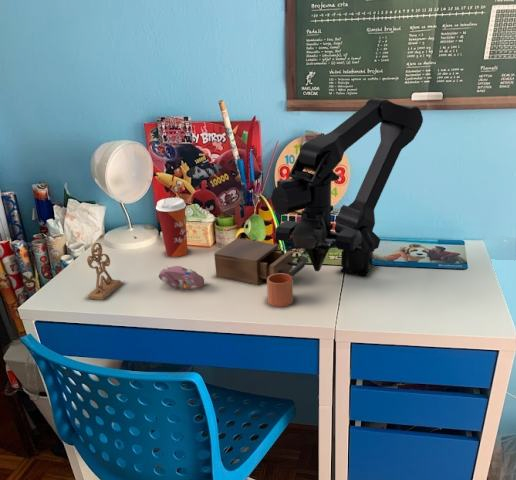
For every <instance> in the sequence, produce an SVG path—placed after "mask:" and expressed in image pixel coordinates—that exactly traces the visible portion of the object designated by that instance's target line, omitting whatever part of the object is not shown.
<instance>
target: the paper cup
mask: <svg viewBox="0 0 516 480" xmlns="http://www.w3.org/2000/svg"><path fill="white" fill-rule="evenodd" d="M186 207H187V204H186V202H185V200H184V199H183V198H180V197H167V198H162V199H160V200H158V201H157V202H156V205H155V210H157V214H158V219H159V224H160V229H161V234H162V239H163V243H164V249H165V252H166V255H167V256H168V257H172V258H177V257H183V256H185V255H187V254H188V232H187V219H186Z"/></svg>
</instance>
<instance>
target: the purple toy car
mask: <svg viewBox="0 0 516 480" xmlns="http://www.w3.org/2000/svg"><path fill="white" fill-rule="evenodd" d="M158 279H159V280H160V281H162V282H163V283H166V284H168V285H169V286H170V287H171V288H174V289H176V288H179V286H180V285H181V287H182V288H183V289H185V290H190V289H191V288H192V287H193V286H194V287H199V288H200V287H203V286H204V285H205V278H204V276H202V275H200V274H198V273H197V271H195V270H193V269H191V268H185V267H183V266H182V265H174V266H170V267H169V266H167V265H165V266H164V268H162V270H161V271H160V272H159V274H158Z"/></svg>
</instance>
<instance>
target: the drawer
mask: <svg viewBox="0 0 516 480" xmlns="http://www.w3.org/2000/svg"><path fill="white" fill-rule="evenodd" d="M305 267H306V264H305V262H304V261H300V262H294V261H293V251H290V250H287V251H286V252H285V253H284V254H283V252H282V251H279V250H278V251H273V252H272V253H270V254H269V255H268V256H266V257H265V258H264V259H262V260H261V261H260V262H258V268H259V278H263V279H264V280H267V277H268V276H270V275H272V274H277V273H285V274H289V275H291V276H292V278H294V277H295V276H296V275H297V274H299V272H300V271H302V270H303V269H304V268H305Z"/></svg>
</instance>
